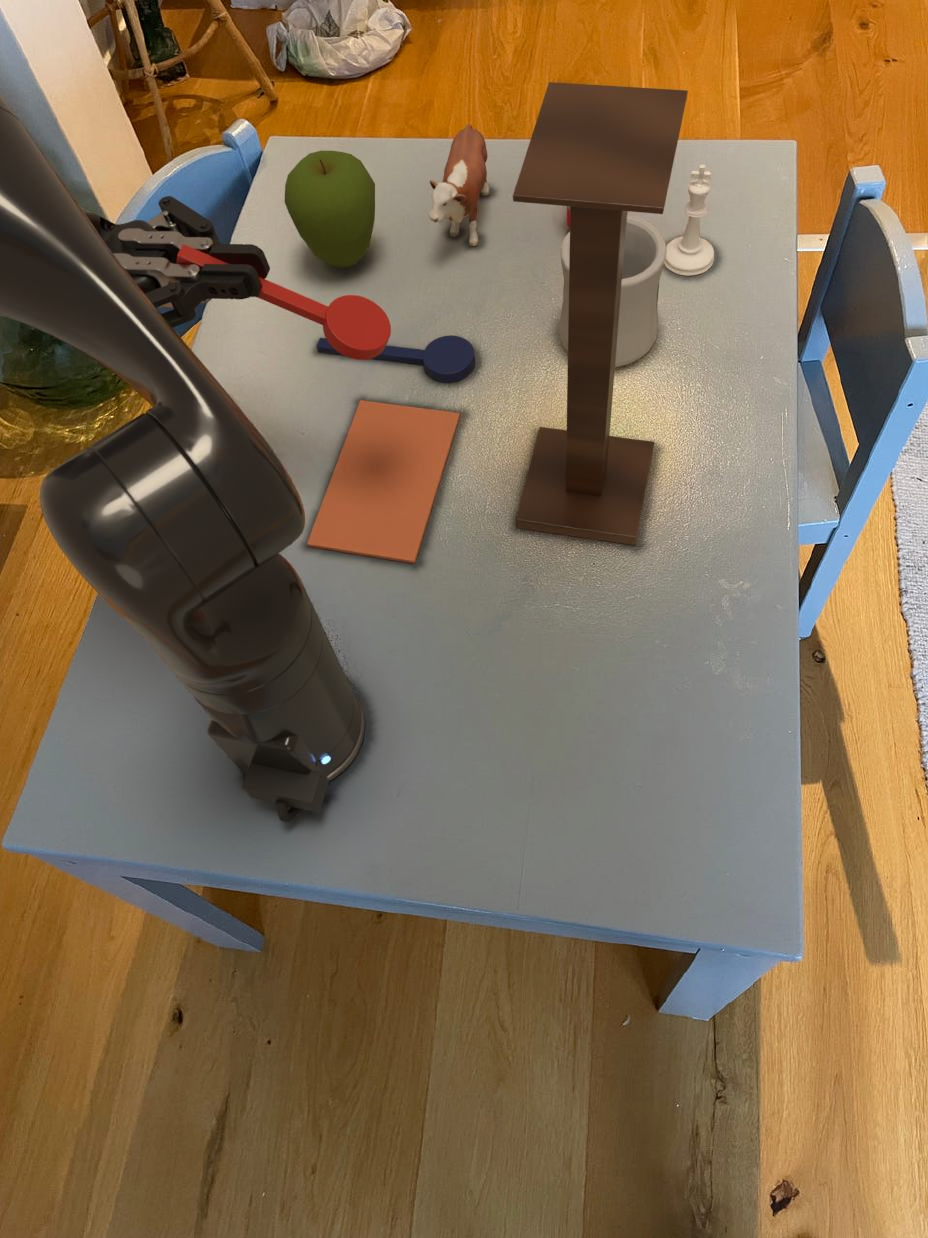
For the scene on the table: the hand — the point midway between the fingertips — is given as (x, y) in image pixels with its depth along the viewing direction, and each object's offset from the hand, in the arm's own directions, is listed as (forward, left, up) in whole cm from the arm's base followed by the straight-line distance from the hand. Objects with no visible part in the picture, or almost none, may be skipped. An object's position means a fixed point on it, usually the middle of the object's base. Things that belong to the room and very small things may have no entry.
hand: (260, 271), depth 64 cm
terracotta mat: (-1, -6, -21) cm, 22 cm away
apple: (+25, +6, -21) cm, 34 cm away
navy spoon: (+13, -3, -21) cm, 25 cm away
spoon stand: (+1, -23, -21) cm, 31 cm away
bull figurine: (+32, -5, -21) cm, 39 cm away
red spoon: (0, -1, -3) cm, 3 cm away
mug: (+20, -21, -21) cm, 36 cm away
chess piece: (+30, -28, -21) cm, 46 cm away
